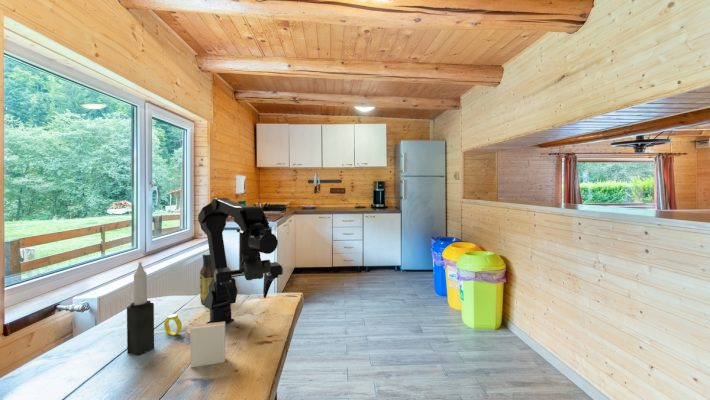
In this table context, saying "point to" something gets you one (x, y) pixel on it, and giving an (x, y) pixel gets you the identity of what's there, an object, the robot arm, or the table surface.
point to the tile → (207, 344)
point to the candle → (140, 317)
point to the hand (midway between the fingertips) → (249, 300)
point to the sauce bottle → (205, 277)
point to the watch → (178, 322)
